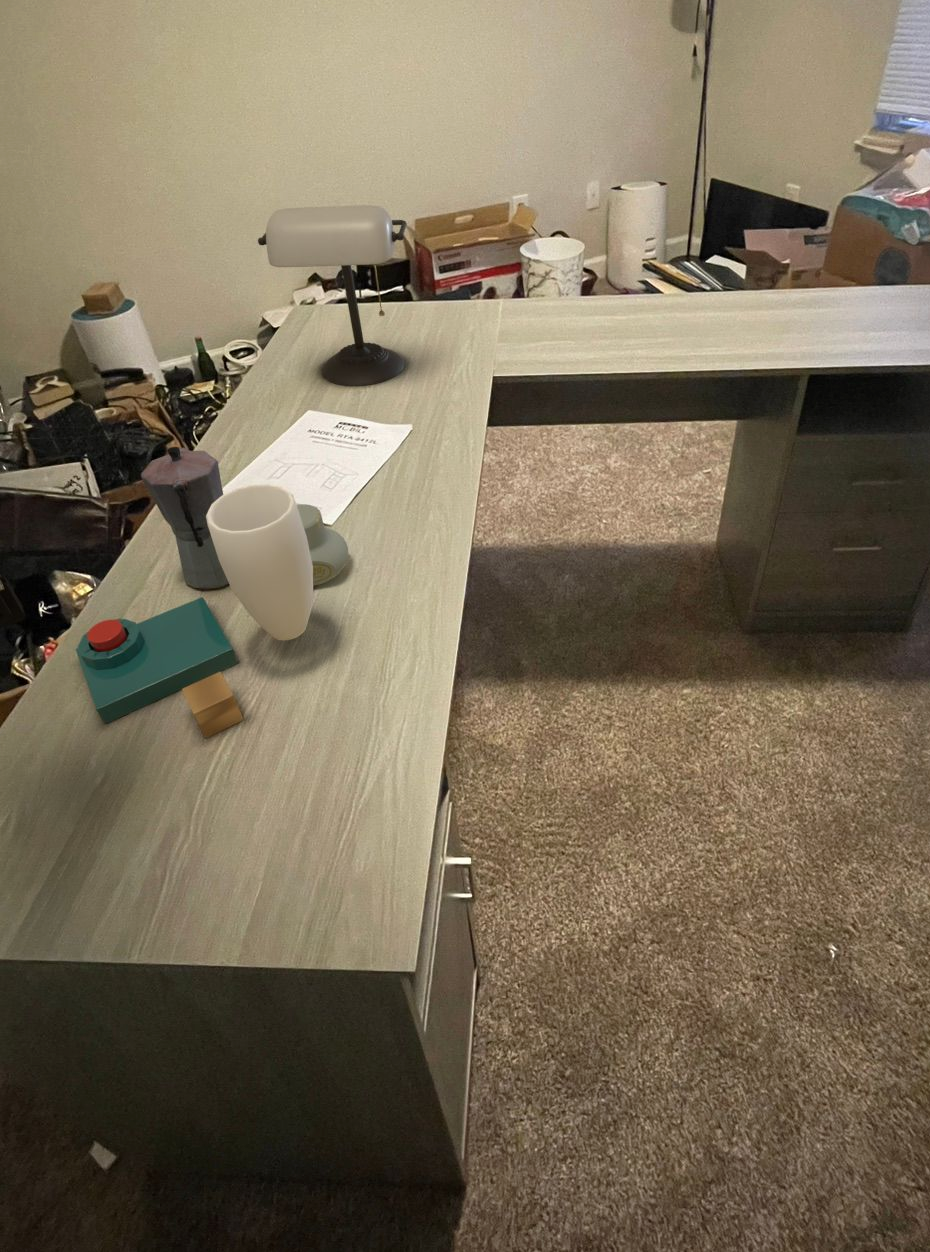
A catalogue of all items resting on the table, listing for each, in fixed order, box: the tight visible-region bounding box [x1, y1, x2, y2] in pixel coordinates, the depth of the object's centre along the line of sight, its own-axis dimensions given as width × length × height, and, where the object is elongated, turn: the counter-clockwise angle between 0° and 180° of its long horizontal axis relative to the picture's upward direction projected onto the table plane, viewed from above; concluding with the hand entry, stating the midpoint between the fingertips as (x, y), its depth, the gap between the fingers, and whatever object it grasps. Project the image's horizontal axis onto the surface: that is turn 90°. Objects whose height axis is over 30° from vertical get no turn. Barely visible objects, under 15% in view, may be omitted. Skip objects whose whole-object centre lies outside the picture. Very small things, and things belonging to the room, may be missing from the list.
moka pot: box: [140, 446, 230, 590], centre depth 100 cm, size 10×15×20 cm, turn 26°
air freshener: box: [297, 503, 349, 587], centre depth 103 cm, size 11×8×10 cm
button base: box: [75, 596, 239, 725], centre depth 92 cm, size 16×12×4 cm
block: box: [181, 671, 244, 739], centre depth 85 cm, size 4×4×4 cm
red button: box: [87, 619, 127, 652], centre depth 90 cm, size 4×4×2 cm
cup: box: [206, 483, 314, 641], centre depth 88 cm, size 10×10×22 cm
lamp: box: [257, 204, 408, 387], centre depth 145 cm, size 26×24×34 cm
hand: (5, 620), depth 66 cm, fingers closed
